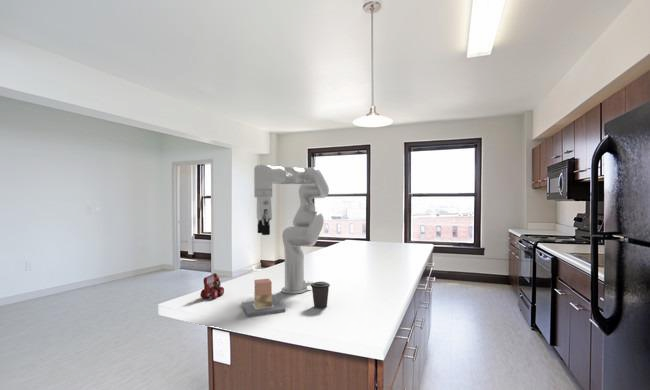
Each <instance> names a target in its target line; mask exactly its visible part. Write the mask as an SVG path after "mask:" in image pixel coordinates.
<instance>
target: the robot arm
mask: <svg viewBox="0 0 650 390" xmlns="http://www.w3.org/2000/svg"><path fill="white" fill-rule="evenodd" d="M253 169H254V170H253V171H254V172H253V173H254V174H253V177H254V178H253V181H254V182H253V183H254V184H253V185H254V188H253V190H254V191H253V193H254V194H253V195H254V198H256V219H257V233H258V234H261V235H262V236H269V235H270V234H271V225H270V224H271V223H270V221H272V220H273V211H272V199H271V198H272V197H273V184H275V185H276V184H278V185H300V186H299V187H298V197H299V202H300V204H299V207H298V209H297V212H296V213H295V215H294V217H293V220H292V226H288V227H286V228H285V229H284V230H283V231H282V234H281V235H282V236H281V237H282V244H283V249H284V286H283V287H281V292H282V293H285V294H290V295H293V294H294V295H296V294H303V293H307V291H308V286H310V287H311V284H312V283H314V281H313V280H312V281H309V280H308V281H306V280H305V254H304V251H303V249H302V248H301V247H307V248H308V247H309V248H311V247H313V246H315V244H316V243H317V241H318V239H319V236H320V235H321V232H322V230H323V229H322V228H323V226H324V219H325V218H324V216H323V214H322V213H321V212H319V211H316V206H315V204H314V202H313V201H312V199H324V198H326V197H327V196H328V195H329V191H330V189H329V185H328V183H327V181H326V178H325V177H324V175H323V173H322V172H321V171H320V169H318V168H317V167H315V166H314V167H313V166H312V167H295V166H285V167H284V166H280V165H276V166H275V165H274V166H271V165H269V164H258V165H257V164H256V165H255V167H253Z"/></svg>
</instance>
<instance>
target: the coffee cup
mask: <svg viewBox="0 0 650 390" xmlns="http://www.w3.org/2000/svg"><path fill="white" fill-rule="evenodd" d="M330 286H331V285H330V283H329V282H325V281H316V282H313V283H312V284H311V286H310V287H311V291H312V299H313V301H312V302H313V307H314V308H315V309H319V310H323V308H324V309H326V308H327V307H328V298H329V289H330Z"/></svg>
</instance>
